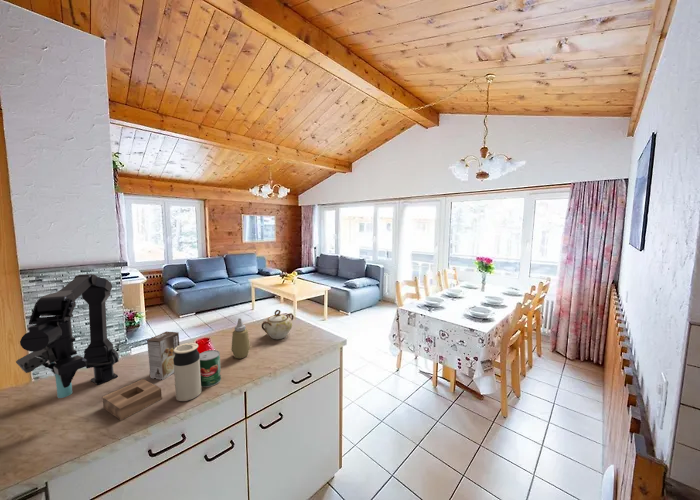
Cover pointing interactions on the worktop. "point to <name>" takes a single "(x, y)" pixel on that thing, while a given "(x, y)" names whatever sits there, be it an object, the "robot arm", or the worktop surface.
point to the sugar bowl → (278, 325)
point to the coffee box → (162, 354)
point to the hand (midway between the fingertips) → (64, 385)
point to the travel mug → (187, 371)
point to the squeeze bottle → (240, 340)
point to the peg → (62, 388)
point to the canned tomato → (210, 368)
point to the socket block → (131, 399)
